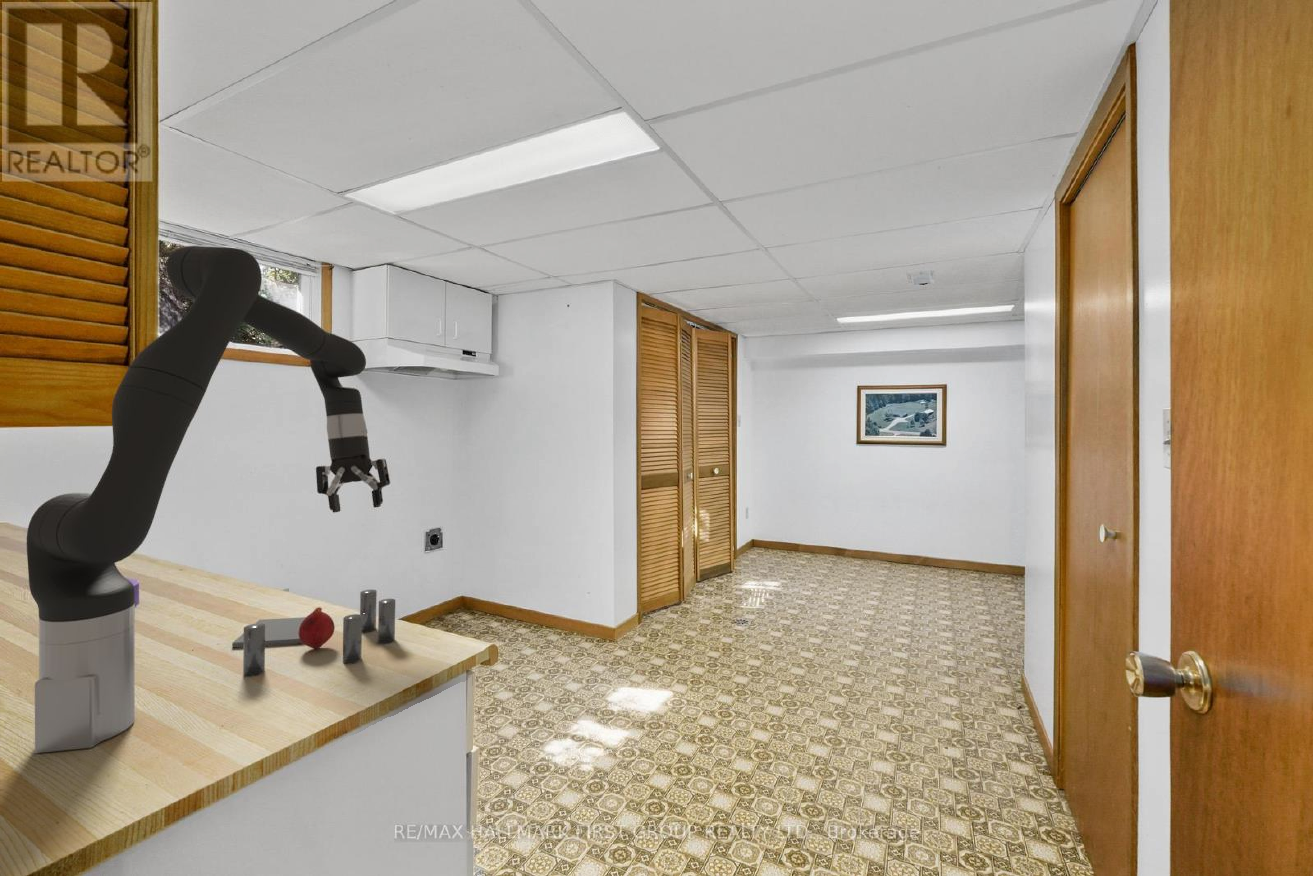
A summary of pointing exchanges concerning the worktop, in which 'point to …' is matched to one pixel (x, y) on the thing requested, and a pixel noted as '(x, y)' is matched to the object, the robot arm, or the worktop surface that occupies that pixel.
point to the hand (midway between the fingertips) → (357, 509)
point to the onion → (316, 629)
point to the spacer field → (351, 632)
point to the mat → (277, 632)
